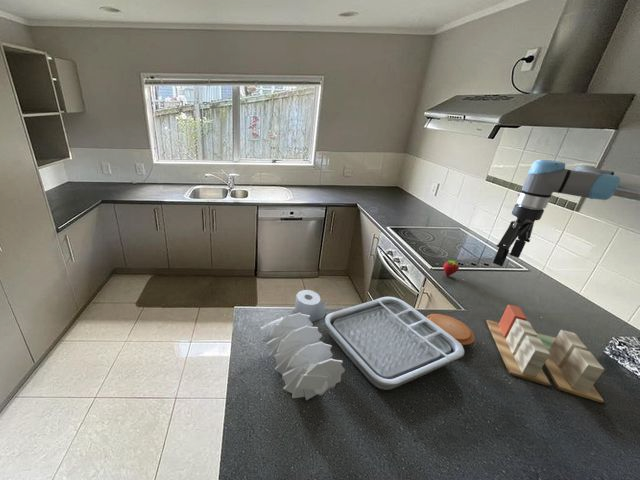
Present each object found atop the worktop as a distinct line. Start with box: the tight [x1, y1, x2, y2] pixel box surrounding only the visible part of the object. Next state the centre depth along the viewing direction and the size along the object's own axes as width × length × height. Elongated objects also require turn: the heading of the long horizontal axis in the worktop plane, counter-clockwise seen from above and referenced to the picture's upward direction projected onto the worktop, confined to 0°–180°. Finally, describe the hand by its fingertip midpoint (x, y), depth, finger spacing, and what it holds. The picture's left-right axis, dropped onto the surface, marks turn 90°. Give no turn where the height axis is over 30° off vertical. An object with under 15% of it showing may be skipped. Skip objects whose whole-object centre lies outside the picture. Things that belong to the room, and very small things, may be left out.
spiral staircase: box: [260, 312, 346, 401], centre depth 85 cm, size 18×18×25 cm
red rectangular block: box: [498, 303, 528, 337], centre depth 104 cm, size 7×4×10 cm, turn 156°
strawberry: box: [443, 259, 459, 277], centre depth 141 cm, size 6×8×10 cm
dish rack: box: [324, 296, 465, 391], centre depth 96 cm, size 32×37×8 cm
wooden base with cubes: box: [485, 319, 552, 387], centre depth 97 cm, size 26×10×11 cm, turn 156°
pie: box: [425, 313, 476, 347], centre depth 104 cm, size 15×16×5 cm
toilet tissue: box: [293, 289, 326, 323], centre depth 112 cm, size 9×13×9 cm
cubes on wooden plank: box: [536, 329, 605, 404], centre depth 93 cm, size 26×10×11 cm, turn 156°
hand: (506, 260), depth 104 cm, fingers open, 13 cm apart
